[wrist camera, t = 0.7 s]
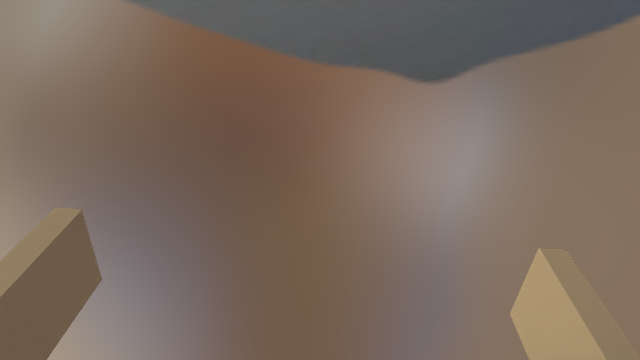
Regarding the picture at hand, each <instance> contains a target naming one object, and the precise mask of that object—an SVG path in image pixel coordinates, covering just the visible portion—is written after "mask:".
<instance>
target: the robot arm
mask: <svg viewBox="0 0 640 360" xmlns="http://www.w3.org/2000/svg"><path fill="white" fill-rule="evenodd" d="M101 280H102V278H101V274H100V271H99V267H98V264H97V260H96V257H95V254H94V250H93V247H92V243H91V240H90V237H89V233H88V230H87V226H86V223H85V219H84V216H83V213H82V210H77V209H65V208H55V209H54V210H53V211H52V212H51V213H50V214H49V215H48V216H46V217H45V219H43V220H42V221H41V222H40V223H39V224H38V225H37V226H36V227H35V228H34V229H33V230H32V231H31V232H30V233H29V234H28V235H27V236H26V237H25V238H24V239H23V240H22V241H21V242H20V243H19V244H17V245H16V246H15V247H14V248H13V250H11V251H10V252H9V253H8V254H7V255H6V256H5V257H4V258H3V259H2V260H1V261H0V360H47V358H48V357H49V355H50V354H51V352H52V351H53V349H54V348H55V347H56V345H57V344H58V342H59V341H60V339H61V338H62V336H63V335H64V334H65V332H66V331H67V329H68V328H69V326H70V325H71V323H72V322H73V320H74V319H75V318H76V316H77V314H78V313H79V312H80V310H81V309H82V308H83V306H84V305H85V303H86V302H87V300H88V299H89V297H90V296H91V295H92V293H93V292H94V290H95V289H96V287H97V286H98V284H99V283H100V282H101ZM510 315H511V317H512V320H513V322H514V325H515V327H516V329H517V332H518V334H519V336H520V339H521V341H522V343H523V346H524V348H525V350H526V353H527V355H528V358H529V360H640V358H639V356H638V355H637V353H636V352H635V350H634V349H633V347H632V346H631V344H630V343H629V341H628V340H627V339H626V337H625V336H624V334H623V333H622V331H621V330H620V328H619V327H618V325H617V324H616V322H615V321H614V319H613V318H612V316H611V315H610V313H609V312H608V310H607V309H606V308H605V306H604V305H603V303H602V302H601V300H600V299H599V297H598V296H597V294H596V293H595V291H594V290H593V288H592V287H591V285H590V284H589V283H588V281H587V280H586V278H585V277H584V275H583V274H582V272H581V271H580V269H579V268H578V266H577V265H576V263H575V262H574V261H573V259H572V258H571V256H570V255H569V253H568V252H567V250H563V249H551V248H539V249H538V251H537V253H536V256H535V258H534V260H533V262H532V265H531V267H530V270H529V272H528V274H527V277H526V279H525V281H524V283H523V285H522V288H521V290H520V292H519V294H518V297H517V299H516V301H515V304H514V306H513V308H512V311H511V313H510Z"/></svg>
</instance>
